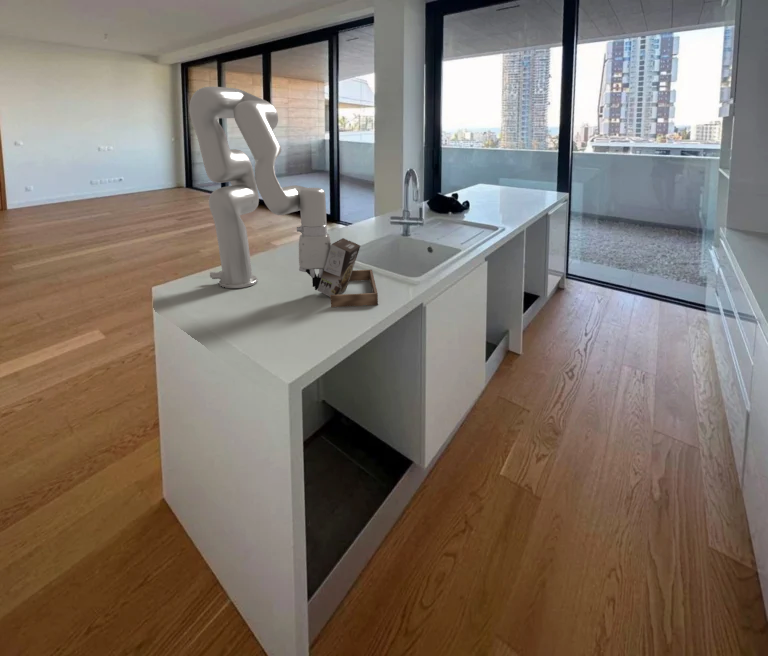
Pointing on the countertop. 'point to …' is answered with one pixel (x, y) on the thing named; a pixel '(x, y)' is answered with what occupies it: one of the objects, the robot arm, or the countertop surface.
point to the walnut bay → (357, 298)
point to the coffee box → (338, 267)
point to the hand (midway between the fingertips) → (317, 288)
